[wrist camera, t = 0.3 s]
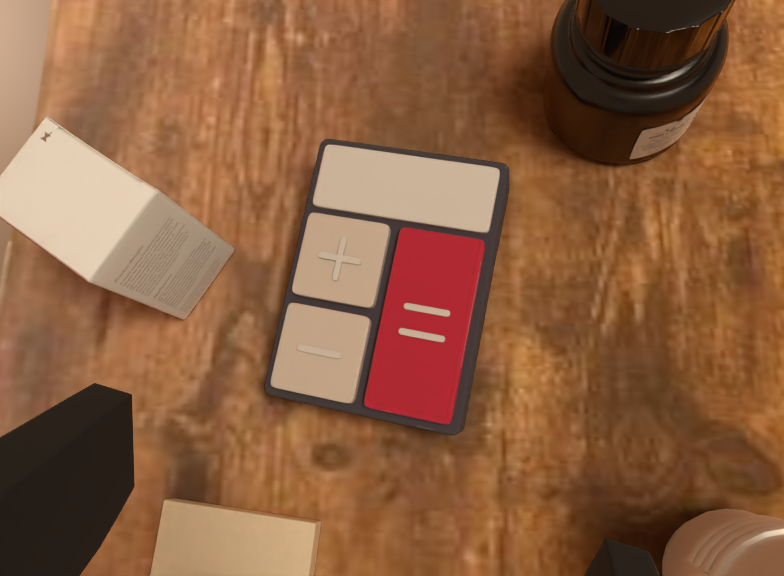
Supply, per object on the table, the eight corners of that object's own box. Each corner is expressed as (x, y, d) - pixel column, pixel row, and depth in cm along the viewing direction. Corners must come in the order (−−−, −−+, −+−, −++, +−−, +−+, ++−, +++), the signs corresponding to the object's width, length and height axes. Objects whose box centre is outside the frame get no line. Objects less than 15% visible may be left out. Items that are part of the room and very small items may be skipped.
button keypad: (256, 393, 37) (317, 131, 39) (282, 395, 41) (335, 158, 43) (458, 438, 34) (511, 158, 37) (463, 435, 39) (510, 184, 41)
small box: (94, 257, 44) (-27, 201, 34) (146, 187, 45) (42, 111, 34) (186, 324, 42) (86, 285, 32) (239, 250, 43) (157, 189, 32)
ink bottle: (669, 191, 39) (740, 86, 28) (521, 151, 41) (530, 36, 30) (714, 45, 41) (799, -113, 29) (569, 13, 43) (596, -147, 31)
